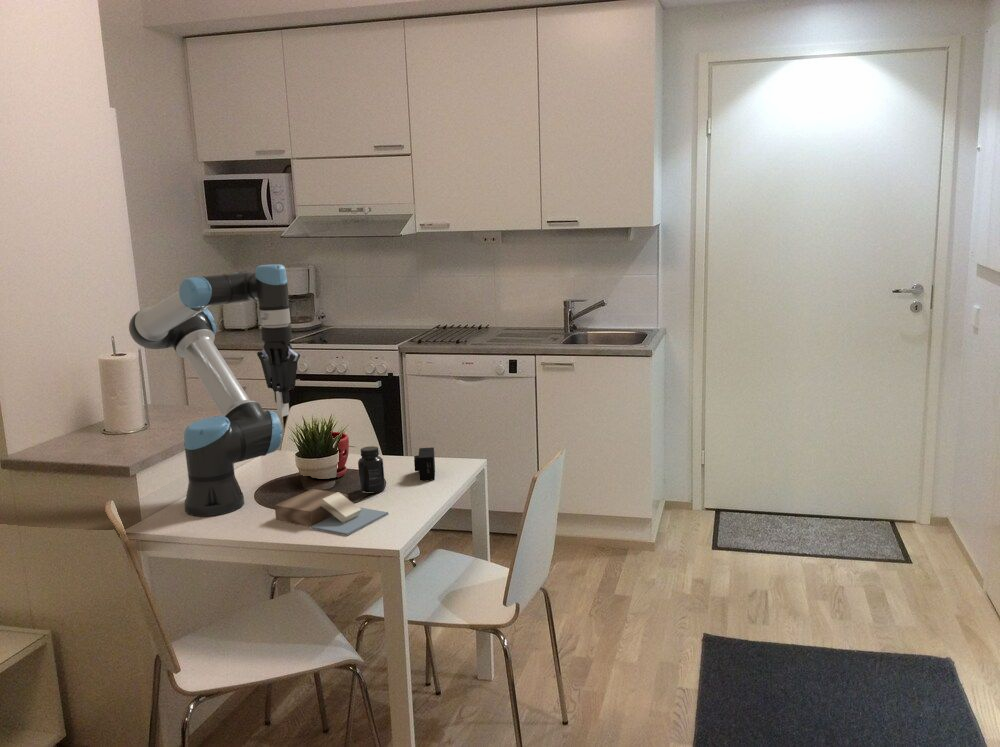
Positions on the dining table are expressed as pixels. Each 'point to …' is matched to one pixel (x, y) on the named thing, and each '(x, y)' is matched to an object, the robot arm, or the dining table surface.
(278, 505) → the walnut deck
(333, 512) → the birch tile
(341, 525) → the rubber mat
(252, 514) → the dining table surface
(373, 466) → the supplement bottle
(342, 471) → the plant pot
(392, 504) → the dining table surface
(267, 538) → the dining table surface
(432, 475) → the digital camera
